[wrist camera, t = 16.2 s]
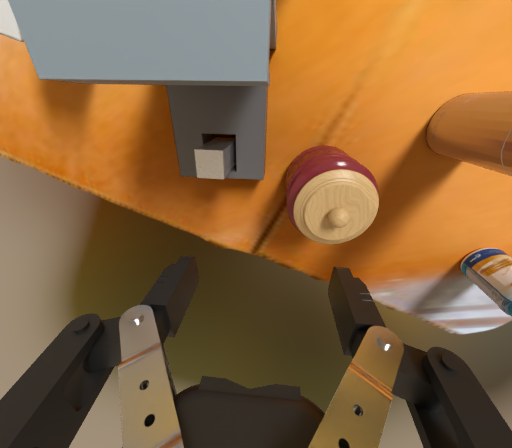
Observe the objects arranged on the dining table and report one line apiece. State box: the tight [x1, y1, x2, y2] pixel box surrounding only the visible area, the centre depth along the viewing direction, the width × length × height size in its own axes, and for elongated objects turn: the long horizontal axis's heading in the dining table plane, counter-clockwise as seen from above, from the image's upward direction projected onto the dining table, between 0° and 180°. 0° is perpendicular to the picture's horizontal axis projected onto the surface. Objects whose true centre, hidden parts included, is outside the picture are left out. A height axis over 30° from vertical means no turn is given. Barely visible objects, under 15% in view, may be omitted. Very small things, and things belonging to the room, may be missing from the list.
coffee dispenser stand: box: [8, 0, 277, 86], centre depth 24 cm, size 17×8×24 cm, turn 89°
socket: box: [166, 85, 268, 180], centre depth 36 cm, size 15×17×5 cm
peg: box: [194, 138, 236, 179], centre depth 35 cm, size 4×4×12 cm
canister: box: [285, 146, 379, 244], centre depth 34 cm, size 13×13×18 cm
